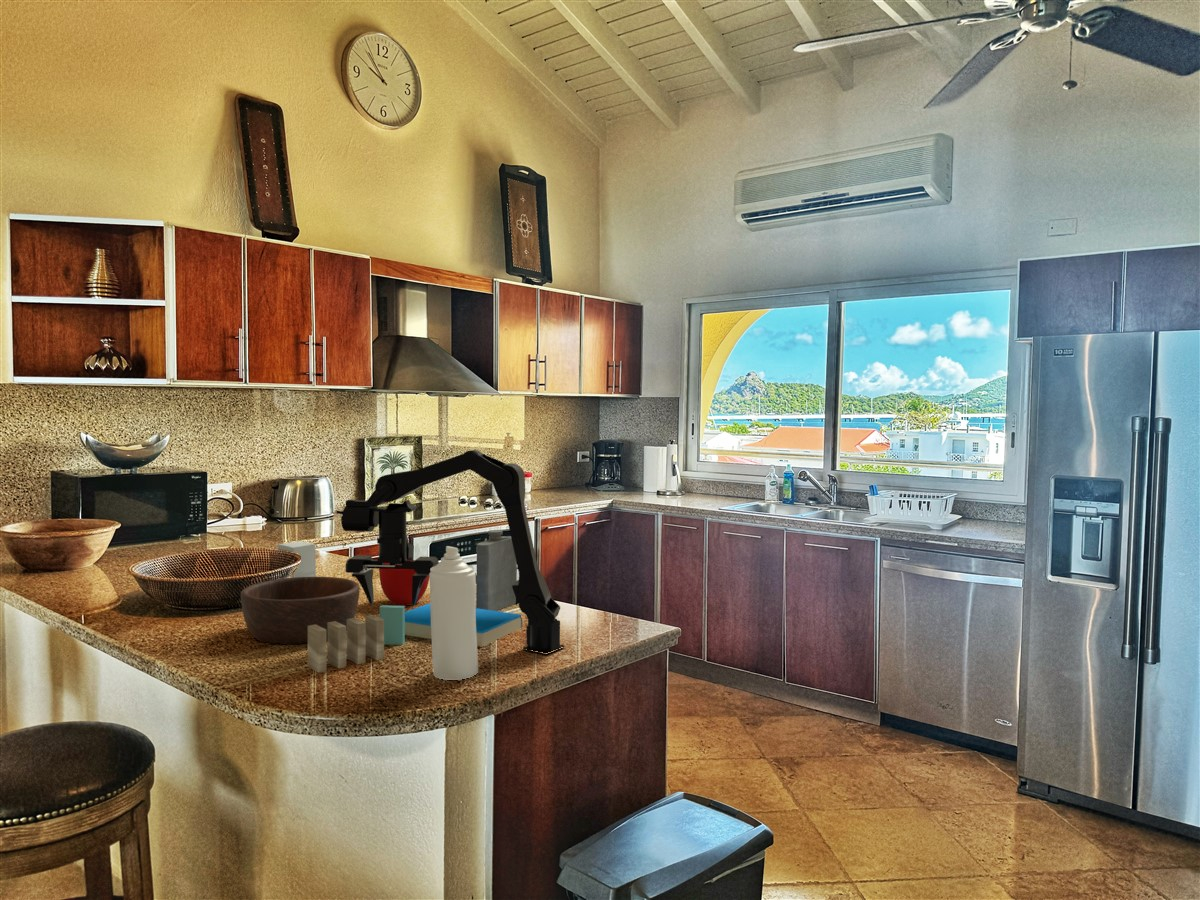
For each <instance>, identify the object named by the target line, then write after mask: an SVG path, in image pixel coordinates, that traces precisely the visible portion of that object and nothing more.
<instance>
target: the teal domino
mask: <svg viewBox="0 0 1200 900" xmlns="http://www.w3.org/2000/svg"><path fill="white" fill-rule="evenodd" d="M405 607H406V605H380V606H379V618H382V619H384V645H392V646H393V645H396V646H398V645H401V646H402V645H405V642H406V637H405V636H406V635H405V612H406V609H405Z"/></svg>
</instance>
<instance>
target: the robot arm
mask: <svg viewBox="0 0 1200 900" xmlns="http://www.w3.org/2000/svg"><path fill="white" fill-rule="evenodd" d="M469 470H470V471H472V472H473V473H475V474H477V475H478V476H480V477H481V478H483V479H484V480H486V481H489V482H491V483H492V485H493V488H494V491H495V493H496V496H497V498H498V499H499V501H500V503H501V504H502V506H503V508H504V510H505V511H504V512H505V515H506V520H507V524H508V528H509V533H510V534H509V535H510V536H511V539H512V544H513V548H514V553H515V557H516V562H517V572H518V579H517V581H516V582H515V583H514V585H513V586H512V588H513V591H514V594H515V597H516V603H515V605H514V606H518V607H519V610H520V612H521V613H523V614H524V615H526V618H527V625H526V630H525V631H526V632H525V633H526V637H525V638H526V642H525V643H526V646H522V650H523V649H527V650H533V651H538V652H543V653H548V652H551V651H553V650H556V649H559V648H561V647H564V648H565V645H563V644H561V620H558V619H557V616H558V615H559V613H560V610H561V606H560V605H559V603H558V602H556V601H555V599H553V598H552V596H551V592H550V589H549V587H548V584H547V582H546V580H545V578H544V576H543V574H542V572H541V571H540V568H539V565H538V562H537V557H536V553H535V548H534V543H533V538H532V533H531V529H530V524H529V519H528V514H527V510H526V505H525V503H526V502H525V498H526V475H525V471H524V469H523V468H522V467H521V466H520V465H519V464H517V463H513V462H510V463H506V462H504V461H501V460H499V459H497V458H494V457H492V456H489V455H487V454H485V453H483V452H481V451H480V450H478V449H472V450H467V451H465V452H464V453H461V454H459V455H455V456H453V457H451V458H447V459H444V460H441V461H439V462H436V463H434V464H433V463H432V464H430V465H427V466H423V467H421V468H418V469H413V470H407V471H400V472H393V473H389V474H385V475H382V476H380V477H379V478H377V480H376V482H375V486H374V491H373V492H372V493H371V495H370V496H369V498H368V499H367V500H362V499H361V500H359V499H354V498H353V499H346V500H345V506H344V508H343V511H342V515H341V518H340V522H341V528H342V529H343V532H344V531H345V532H363V533H364V532H368V533H369V532H370V533H371V532H373V531H374V530H375V528H377V527H378V538H377V539H376V543H377V544H378V557H377V559H373V557H372V555H362V554H358V555H357V554H356V555H354V556H352V557H350V558H348V559H347V560H346V562H345V573H346V574H347V573H351V577H354V578H356V580H357V581H358V584H359V586H361V588H362V590H363V592H364V594H365V596H366V598H367V601H368V603H369V605H373V604H374V598H375V597H374V583H373V577H374V576H373V575H374V570H375V569H376V570H377V569H378V570H379V569H414V571H415V572H416V574H414V575H413V576H412V605H411V606H415V605H416V604H417V603H416V601H417V598H418V595H419V592H420V589H421V586H422V584H423V582H424V580H425V578H427V577H428V576H429V573H430V572H431V571H430V569H431V568H432V567H434V566H436V565H437V564H438V563H439V562H440V561H439V559H438V558H437V557H436V556H419V557H418V558H416V559H413V557H414V545H413V544H411V543H410V542H409V537H408V535H407V513H411V512H415V511H416V510H417V507H416V506H415V505H413V504H412V503H411V502H410V500H409V499H406V500H403V502H402V503H398V502H397V503H393V502H394V501H398V500H400V499H403V498H405V497H407V496H408V495H410V494H412V493H414V492H416V491H418V490H419V489H421V488H423V487H424V486H427V485H428V484H431V483H434V482H438V481H440V480H443V479H446V478H449V477H452V476H455V475H458V474H461V473H464V472H466V471H469ZM390 502H392V503H390ZM387 503H388V504H387ZM383 504H387V506H386V507H385V506H384V507H380V506H381V505H383ZM378 506H379V507H378ZM410 560H415V561H410ZM384 563H389V564H390V565H389V564H388V565H387V564H386V565H385V564H384ZM396 564H397V565H396ZM527 650H526V651H527Z"/></svg>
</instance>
